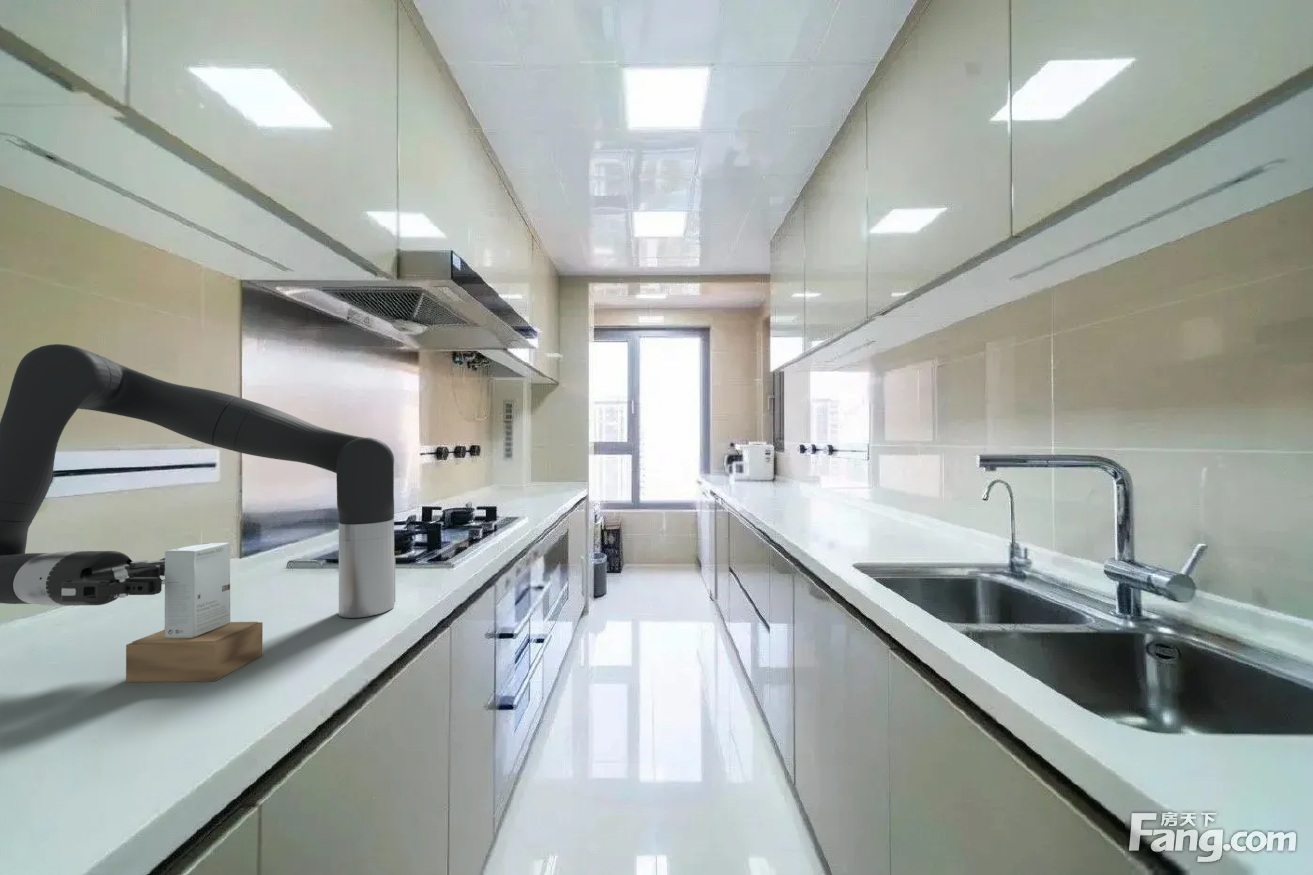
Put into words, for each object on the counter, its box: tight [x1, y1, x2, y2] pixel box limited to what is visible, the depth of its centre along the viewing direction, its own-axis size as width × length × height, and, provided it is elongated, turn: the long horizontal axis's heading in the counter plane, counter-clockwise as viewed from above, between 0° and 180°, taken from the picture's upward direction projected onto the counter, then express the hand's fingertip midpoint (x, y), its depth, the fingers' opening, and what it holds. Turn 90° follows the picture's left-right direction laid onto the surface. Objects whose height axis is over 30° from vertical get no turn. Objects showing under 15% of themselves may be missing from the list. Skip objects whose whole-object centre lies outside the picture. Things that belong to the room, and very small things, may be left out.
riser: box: [125, 621, 263, 683], centre depth 70 cm, size 8×12×5 cm, turn 90°
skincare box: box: [164, 542, 231, 638], centre depth 70 cm, size 6×4×12 cm
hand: (189, 577), depth 70 cm, fingers open, 8 cm apart
